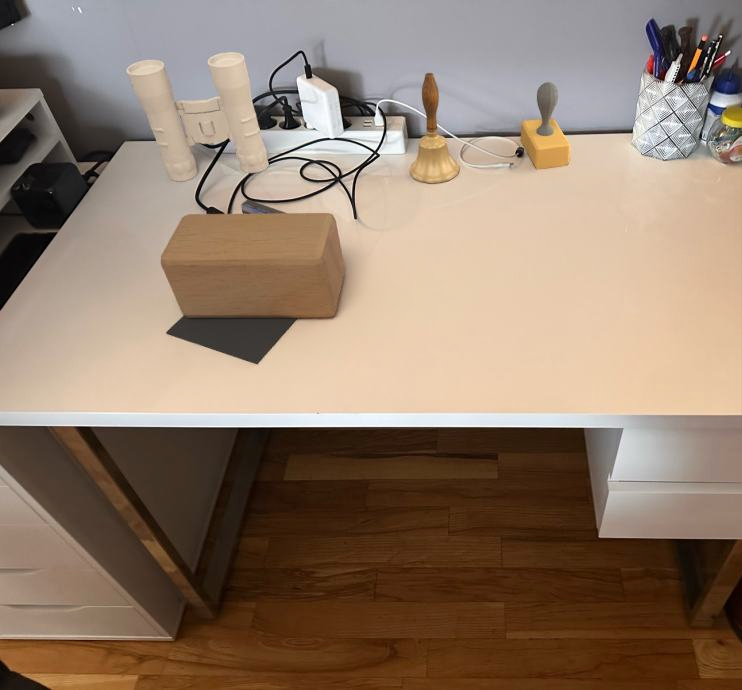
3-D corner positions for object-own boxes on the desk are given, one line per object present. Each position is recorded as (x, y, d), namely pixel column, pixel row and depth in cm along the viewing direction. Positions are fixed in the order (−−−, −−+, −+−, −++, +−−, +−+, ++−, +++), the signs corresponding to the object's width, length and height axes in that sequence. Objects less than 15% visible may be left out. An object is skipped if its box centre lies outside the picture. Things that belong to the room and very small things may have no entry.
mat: (257, 364, 81) (256, 362, 81) (166, 333, 85) (165, 332, 85) (311, 302, 89) (310, 301, 88) (225, 277, 93) (224, 276, 93)
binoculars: (271, 156, 116) (245, 50, 103) (270, 172, 112) (243, 64, 100) (169, 167, 114) (129, 61, 102) (165, 184, 110) (123, 76, 98)
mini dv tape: (250, 239, 99) (240, 204, 95) (257, 233, 100) (247, 199, 96) (293, 255, 96) (284, 220, 92) (300, 249, 97) (291, 214, 93)
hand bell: (409, 159, 114) (400, 65, 103) (458, 156, 114) (454, 62, 103) (409, 185, 108) (400, 88, 97) (460, 182, 108) (457, 85, 97)
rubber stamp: (520, 140, 117) (522, 72, 109) (552, 136, 118) (557, 68, 110) (535, 169, 111) (539, 99, 102) (569, 164, 111) (576, 94, 103)
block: (181, 321, 86) (336, 320, 86) (154, 259, 79) (322, 258, 79) (204, 271, 93) (347, 271, 93) (181, 211, 86) (335, 209, 86)
